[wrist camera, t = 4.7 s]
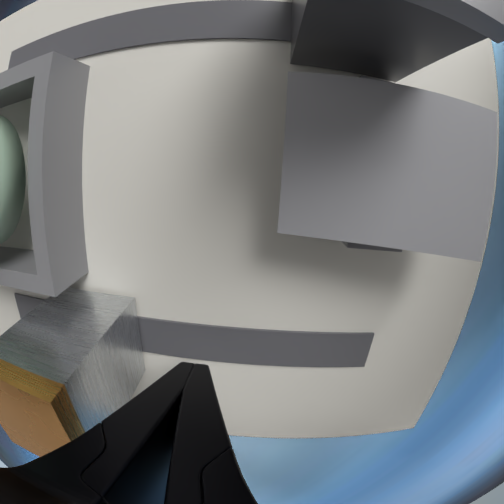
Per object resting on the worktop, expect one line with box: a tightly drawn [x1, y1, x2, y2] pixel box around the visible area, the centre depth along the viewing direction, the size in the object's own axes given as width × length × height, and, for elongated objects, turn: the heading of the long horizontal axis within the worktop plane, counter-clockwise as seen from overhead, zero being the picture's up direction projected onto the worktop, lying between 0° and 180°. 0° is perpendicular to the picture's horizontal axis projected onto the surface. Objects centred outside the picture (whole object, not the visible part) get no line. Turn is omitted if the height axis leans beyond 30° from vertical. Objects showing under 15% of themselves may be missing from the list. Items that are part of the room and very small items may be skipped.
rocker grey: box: [277, 72, 497, 262], centre depth 6 cm, size 5×4×1 cm
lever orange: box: [0, 288, 145, 457], centre depth 7 cm, size 3×3×5 cm
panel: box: [0, 0, 499, 438], centre depth 8 cm, size 22×18×4 cm
